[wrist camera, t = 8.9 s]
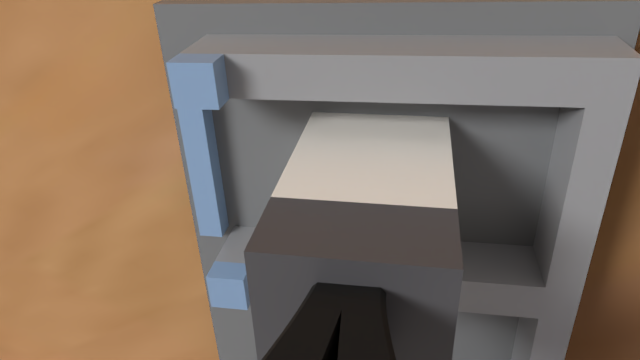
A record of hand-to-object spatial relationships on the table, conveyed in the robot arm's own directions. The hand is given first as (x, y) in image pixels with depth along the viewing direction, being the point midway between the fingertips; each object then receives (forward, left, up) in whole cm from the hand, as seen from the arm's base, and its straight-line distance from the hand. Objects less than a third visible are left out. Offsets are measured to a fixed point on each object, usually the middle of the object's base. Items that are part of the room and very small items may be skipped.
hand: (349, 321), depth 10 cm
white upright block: (0, 0, -7) cm, 7 cm away
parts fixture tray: (-7, 0, -8) cm, 10 cm away
